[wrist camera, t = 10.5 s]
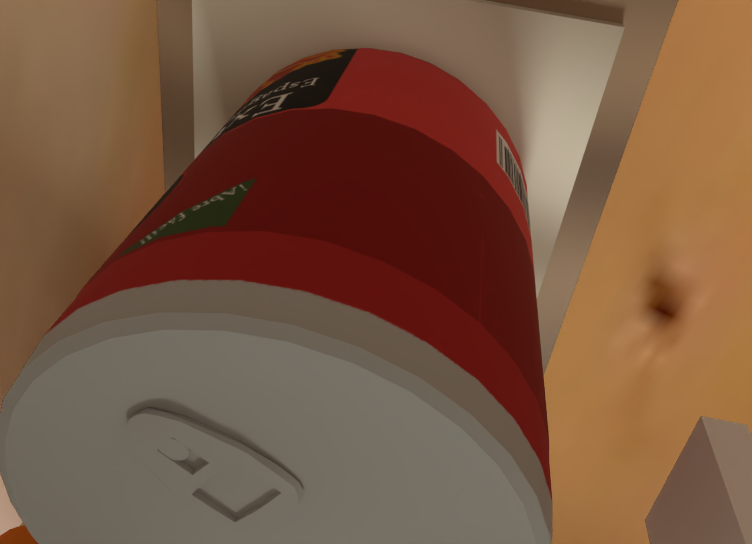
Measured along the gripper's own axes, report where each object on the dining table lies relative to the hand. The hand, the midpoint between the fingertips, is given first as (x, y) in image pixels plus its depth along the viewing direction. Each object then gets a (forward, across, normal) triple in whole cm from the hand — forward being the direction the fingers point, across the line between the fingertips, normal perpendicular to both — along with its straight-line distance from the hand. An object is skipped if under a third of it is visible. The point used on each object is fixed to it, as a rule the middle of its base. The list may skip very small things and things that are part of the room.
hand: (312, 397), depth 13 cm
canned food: (+8, 0, -1) cm, 8 cm away
